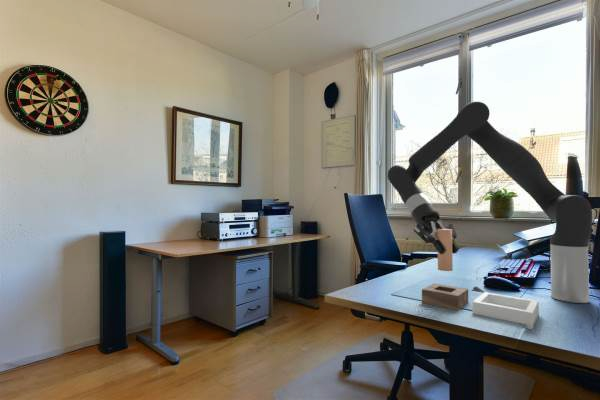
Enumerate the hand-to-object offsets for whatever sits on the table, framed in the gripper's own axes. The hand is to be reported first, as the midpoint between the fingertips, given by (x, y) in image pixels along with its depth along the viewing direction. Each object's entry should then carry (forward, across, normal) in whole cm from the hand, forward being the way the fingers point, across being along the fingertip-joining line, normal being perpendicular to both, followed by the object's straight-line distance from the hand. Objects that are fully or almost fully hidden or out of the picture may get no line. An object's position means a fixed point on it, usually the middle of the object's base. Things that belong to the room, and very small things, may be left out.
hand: (449, 251), depth 92 cm
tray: (+19, +9, +4) cm, 21 cm away
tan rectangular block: (+3, 0, +5) cm, 6 cm away
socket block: (+10, 0, +13) cm, 16 cm away
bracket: (+4, +15, +20) cm, 26 cm away
